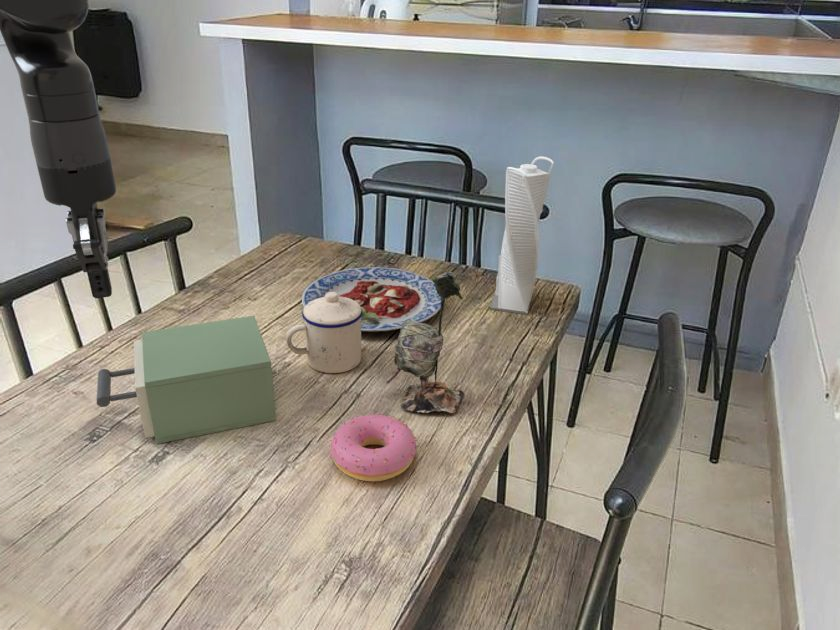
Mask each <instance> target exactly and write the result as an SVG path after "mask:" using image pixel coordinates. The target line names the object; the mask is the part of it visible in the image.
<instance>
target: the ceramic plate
mask: <svg viewBox="0 0 840 630" xmlns="http://www.w3.org/2000/svg"><path fill="white" fill-rule="evenodd" d="M328 292H336V293H337V294H338V296H340V297H346V298H349V299H352V300H354V301H356V302H357V303H358V304H359V305H360V307H361V309H362V316H361V332H388V331H395V330H399V329H400V330H401V327H402V325H403V323H404V321H406V320H415V321H418V322H420V323H424V322H425V321H427V320H430V319H431V318H432V317H433V316H435V315H436V314H437V313H438V312H440V310H441V304H440V303H441V298H442V297H440V296H439V295H438V293H437V290H436V287H435V284H434V280H431V279H430V278H427V277H426V276H423V275H422V274H419V273H415V272H412V271H409V270H404V269H400V268H391V267H382V266H381V267H380V266H372V267H368V266H367V267H355V268H348V269H343V270H338V271H335V272H332V273H329V274H326V275H324V276H321V277H319V278H317V279H316V280H314V281H313V282H311V283H310V284H309V285H308V286H307V287H306V288H305V289H304V291H303V292H302V295H301V304H302V307H303V309H304V308H305V306H306V305H307V304H308V303H309V302H311V301H313V300H315V299H318V298H322V297H325V295H326V293H328ZM406 315H408V316H407V317H406Z"/></svg>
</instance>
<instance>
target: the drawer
mask: <svg viewBox="0 0 840 630" xmlns="http://www.w3.org/2000/svg"><path fill="white" fill-rule="evenodd" d="M133 357H134V358H133V363H134V364H133V365H134V367H133V368H126V369H120V370H113V371H111V370H109V369H108V368H102V369H100V370H99V371H98V373H97V384H96V385H97V386H96V387H97V389H96V405H97V406H99V407H101V408H107V407H108V406H109V405H110V404H111V402H115V401H122V400H127V399H134V398H137V403H138V408H139V414H140V419H141V423H142V428H143V433H144V437H145V438H146V439H147V438H153V437H155V434H154V429H153V424H152V419H151V414H150V409H149V404H148V399H147V393H146V388H145V383H144V366H143V347H142V339H138V340H133ZM130 375H134V391H128V392H123V393H117V394H111V391H112V388H111V387H112V378H118V377H124V376H130Z"/></svg>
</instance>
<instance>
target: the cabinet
mask: <svg viewBox="0 0 840 630" xmlns="http://www.w3.org/2000/svg"><path fill="white" fill-rule="evenodd" d="M141 340H142V347H143V366H144V383H145V388H146V393H147V399H148V404H149V409H150V414H151V419H152V424H153V429H154V434H155V436H154V439H155V444H156V445H159V444H164V443H168V442H174V441H179V440H185V439H189V438H190V439H191V438H194V437H199V436H204V435H209V434H214V433H215V434H216V433H220V432H225V431H230V430H234V429H239V428H244V427H249V426H254V425H259V424H265V423H270V422H274V421H277V416H276V415H277V413H276V404H275V402H276V401H275V392H274V381H273V372H272V371H273V369H272V360H271V357H270V355H269V353H268V350H267V347H266V344H265V341H264V338H263V336H262V333H261V330H260V328H259V325H258V322H257V320H256V317H255V315H249V316H242V317H235V318H230V319H229V318H228V319H222V320H214V321H208V322H201V323H195V324H188V325H182V326H181V325H180V326H174V327H168V328H167V327H166V328H160V329H153V330H147V331H141Z"/></svg>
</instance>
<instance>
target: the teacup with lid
mask: <svg viewBox="0 0 840 630" xmlns="http://www.w3.org/2000/svg"><path fill="white" fill-rule="evenodd" d="M301 315H302V318H303V322H304V323H300V324H296V325H294V326H292V327H290V328H289V329H288V330H287V332H286V334H285V343H286V345H287V348H288V349H289V350H290V351H291V352H292V353H294V354H296V355H306V362H307V364H308V366H309V367H310V368H312V369H313V370H315V371H317V372H320V373H325V374H339V373H345V372H348V371H351V370H353V369H354V368H356V367H357V366H358V365H359V364H361V361H362V357H363V356H362V331H361V316H362V309H361V307H360V305H359V304H358V303H357V302H356V301H354V300H352V299H349V298H346V297H340V296H338V294H337V293H336V292H328V293H326V295H325V297H322V298H318V299H315V300H313V301H311V302H309V303H308V304H307V305H306V306H305V308H304V307H303V310H302V314H301ZM301 331H304V334H305V336H304V337H305V347H296V346H295V345H294V344H293V343H292V338H293V336H294V335H295V334H296V333H298V332H301Z"/></svg>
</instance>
